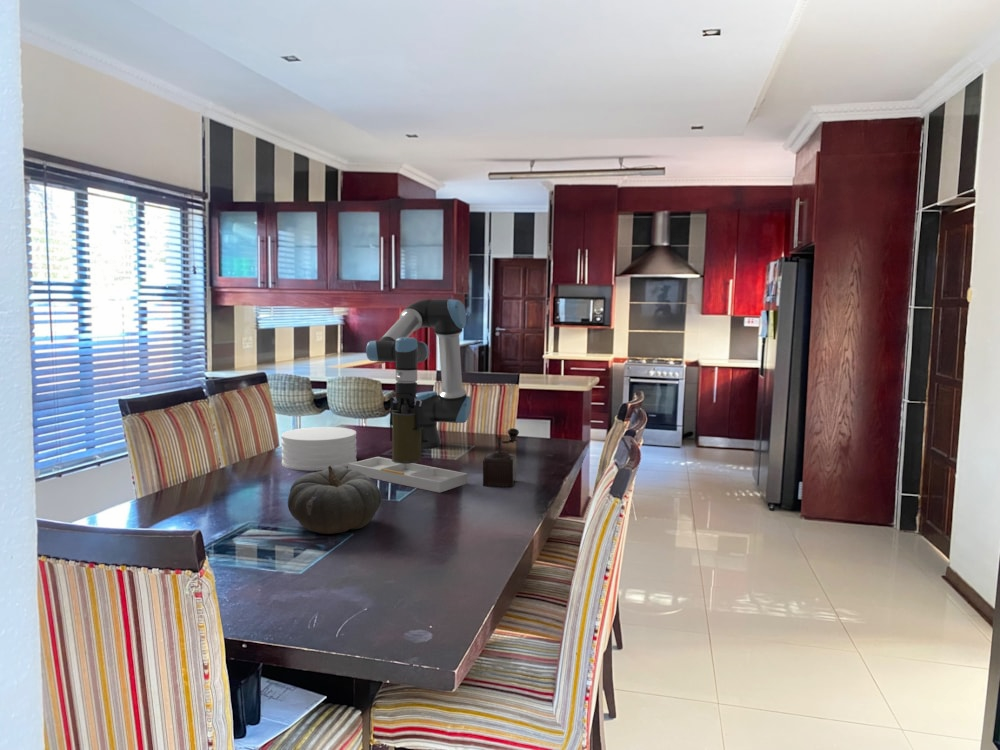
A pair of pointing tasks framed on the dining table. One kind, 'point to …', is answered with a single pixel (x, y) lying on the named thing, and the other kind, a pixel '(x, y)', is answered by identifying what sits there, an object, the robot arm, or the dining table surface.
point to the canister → (404, 437)
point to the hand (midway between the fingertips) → (406, 446)
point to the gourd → (334, 500)
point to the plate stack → (318, 448)
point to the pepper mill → (500, 465)
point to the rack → (410, 474)
